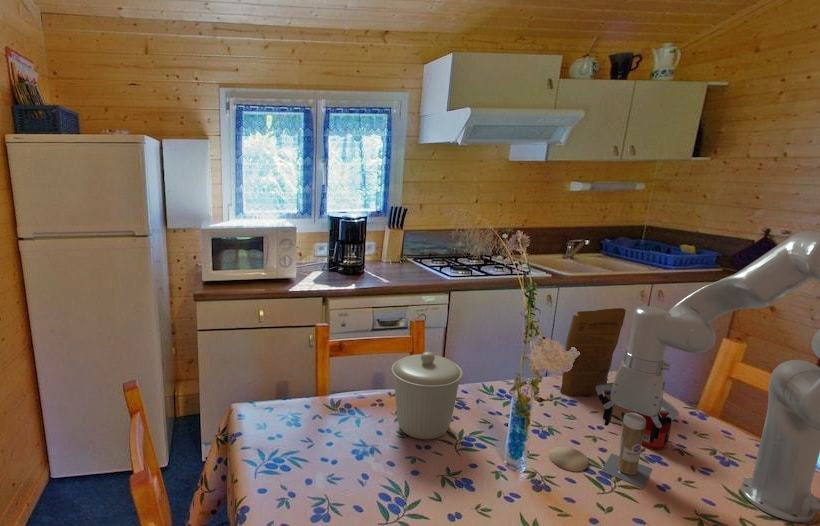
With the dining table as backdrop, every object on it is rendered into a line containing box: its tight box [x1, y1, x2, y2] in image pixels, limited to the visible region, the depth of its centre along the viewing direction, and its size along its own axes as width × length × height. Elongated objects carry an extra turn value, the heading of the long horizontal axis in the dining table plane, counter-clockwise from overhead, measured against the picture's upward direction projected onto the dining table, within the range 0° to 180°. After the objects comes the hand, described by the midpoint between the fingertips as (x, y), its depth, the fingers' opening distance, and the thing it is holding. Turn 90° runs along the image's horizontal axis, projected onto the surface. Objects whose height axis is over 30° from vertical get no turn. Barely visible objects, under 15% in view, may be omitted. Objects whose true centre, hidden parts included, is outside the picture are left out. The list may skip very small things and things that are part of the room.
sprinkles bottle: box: [617, 412, 646, 475], centre depth 108 cm, size 5×5×14 cm
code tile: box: [601, 452, 652, 489], centre depth 109 cm, size 9×9×1 cm
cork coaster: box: [548, 445, 589, 472], centre depth 112 cm, size 9×9×1 cm
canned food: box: [636, 399, 675, 451], centre depth 120 cm, size 8×8×11 cm
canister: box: [390, 351, 464, 440], centre depth 120 cm, size 18×18×21 cm
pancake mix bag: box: [559, 307, 626, 397], centre depth 143 cm, size 7×19×28 cm, turn 101°
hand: (629, 431), depth 107 cm, fingers open, 9 cm apart
